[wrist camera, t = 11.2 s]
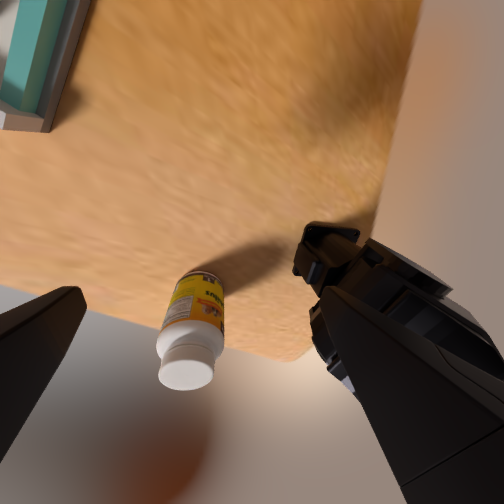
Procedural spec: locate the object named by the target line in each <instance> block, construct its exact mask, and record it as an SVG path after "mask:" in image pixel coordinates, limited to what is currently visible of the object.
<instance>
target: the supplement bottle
mask: <svg viewBox="0 0 504 504" xmlns="http://www.w3.org/2000/svg"><path fill="white" fill-rule="evenodd" d="M156 348H157V352H158V355H159V357H160V358H161V359H162V361H161V367H160V370H159V379H160V381H161V382H162V384H164V385H165V386H167V387H169V388H172V389H176V390H193V389H197V388H200V387H202V386H204V385H206V384H208V383H209V382H210V381H211V380H212V378H213V375H214V364H215V360H216V359H217V358H218V357H219V356H220V355H221V353H222V351H223V348H224V288H223V285H222V283H221V281H220V280H219V279H218V278H217V277H216V276H214V275H213V274H211V273H208V272H203V271H195V272H191V273H188V274H186V275H184V276H183V277H182V278H181V279H180V280H179V281H178V282H177V284H176V287H175V290H174V292H173V295H172V298H171V301H170V304H169V307H168V310H167V313H166V316H165V319H164V322H163V325H162V327H161V330H160V334H159V336H158V340H157V344H156Z"/></svg>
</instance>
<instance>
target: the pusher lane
mask: <svg viewBox="0 0 504 504" xmlns="http://www.w3.org/2000/svg"><path fill="white" fill-rule="evenodd" d="M90 2H91V0H0V129H2V130H13V131H27V132H41V133H49V131H50V128H51V125H52V122H53V118H54V115H55V112H56V109H57V106H58V103H59V100H60V96H61V93H62V90H63V87H64V84H65V81H66V77H67V74H68V71H69V68H70V65H71V62H72V59H73V55H74V52H75V49H76V46H77V43H78V40H79V36H80V33H81V30H82V27H83V24H84V21H85V17H86V14H87V11H88V8H89V5H90Z"/></svg>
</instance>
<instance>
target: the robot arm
mask: <svg viewBox="0 0 504 504" xmlns="http://www.w3.org/2000/svg"><path fill="white" fill-rule="evenodd" d="M309 228H311V230H310V231H308V229H309ZM355 232H356V233H355ZM354 233H355V234H354ZM359 235H360V231H359V230H358V229H354V228H344V227H333V226H323V225H313V224H308V225H307V226H306V227H305V229H304V232H303V236H302V239H301V242H300V243H299V244H298V248H297V251H296V255H295V258H294V267H293V270H292V272H293V274H294V275H295V276H302V277H303V279H304V280H305V282H306V283H307V284H310V285H311V287H312V288H313V290H314V291H315V293H316V295H317V296H318V298H320V300H319V301H318V302H317V303H316V305H315V306H314V307H312V308H311V309H310V310H309V314H310V325H311V329H312V334H313V336H312V342H313V344H314V345H315V348H316V350H317V352H318V353H319V355H320V357H321V358H322V359H323V361H324V362H325V363H326V364H327V365H328V366H327V370H328V372H330V373H331V374H332V375H334V376H335V377H336V378H337V379H338V380H340V381H341V382H342V383H343V384H344V385H345V386H346V387H347V388H348V389H349V390H350V391H351V392H352V393H353V395H354V396H355V397H356V398H357V399H358V401H359V402H360V403H361V405H362V407H363V409H364V411H365V413H366V416H367V418H368V420H369V422H370V424H371V426H372V428H373V431H374V433H375V435H376V437H377V439H378V441H379V444H380V446H381V448H382V450H383V452H384V454H385V456H386V459H387V461H388V463H389V465H390V467H391V470H392V472H393V474H394V476H395V478H396V480H397V482H398V485H399V486H400V489H401V491H402V494H403V496H404V498H405V500H406V502H407V504H504V360H503V358H502V356H501V355H500V353H499V351H498V349H497V348H496V346H495V345H494V343H493V341H492V339H491V338H490V336H489V335H488V334H487V332H486V331H485V330H484V329H483V328H482V326H480V324H479V323H478V322H477V320H476V319H475V318H474V317H473V316H472V315H471V313H470V312H469V311H467V310H466V309H465V308H463V307H461V306H460V305H458V304H457V303H455V302H454V301H452V300H450V299H449V298H448V297H446V295H447V294H449V293H450V292H451V291H452V290H453V288H451V287H450V286H449V285H447V284H446V283H445V282H443V281H442V280H441V279H439V278H438V277H436V276H435V275H434V274H432V273H431V272H429V271H428V270H426V269H424V268H423V267H421V266H419V265H418V264H416V263H415V262H413V261H411V260H409V259H408V258H406V257H404V256H403V255H401V254H399V253H397V252H395V251H393V250H391V249H390V248H388V247H386V246H384V245H382V244H380V243H379V242H377V241H375V240H373V239H371V238H368V239H367V241H366V242H365V243H366V244H365V245H364V246H363V248H361V247H359V246H358V245H356V242H357V240H358V238H359ZM296 271H298V272H296ZM86 309H87V304H86V301H85V298H84V296H83V293H82V291H81V288H79V287H78V286H63V287H60V288H58V289H55V290H53V291H51V292H49V293H47V294H44V295H42V296H40V297H38V298H36V299H33V300H31V301H29V302H27V303H25V304H22V305H20V306H18V307H16V308H13V309H11V310H9V311H7V312H5V313H2V314H0V463H1V461H2V460H3V458H4V456H5V455H6V453H7V451H8V450H9V448H10V446H11V444H12V443H13V441H14V440H15V438H16V436H17V435H18V433H19V431H20V430H21V428H22V426H23V425H24V423H25V421H26V420H27V418H28V416H29V415H30V413H31V412H32V410H33V408H34V407H35V405H36V403H37V402H38V400H39V398H40V397H41V395H42V393H43V391H44V390H45V388H46V387H47V385H48V383H49V382H50V380H51V378H52V377H53V375H54V373H55V372H56V370H57V368H58V367H59V365H60V363H61V361H62V360H63V358H64V356H65V354H66V352H67V350H68V348H69V346H70V344H71V342H72V340H73V338H74V336H75V334H76V332H77V329H78V327H79V325H80V323H81V321H82V319H83V317H84V314H85V312H86Z"/></svg>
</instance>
